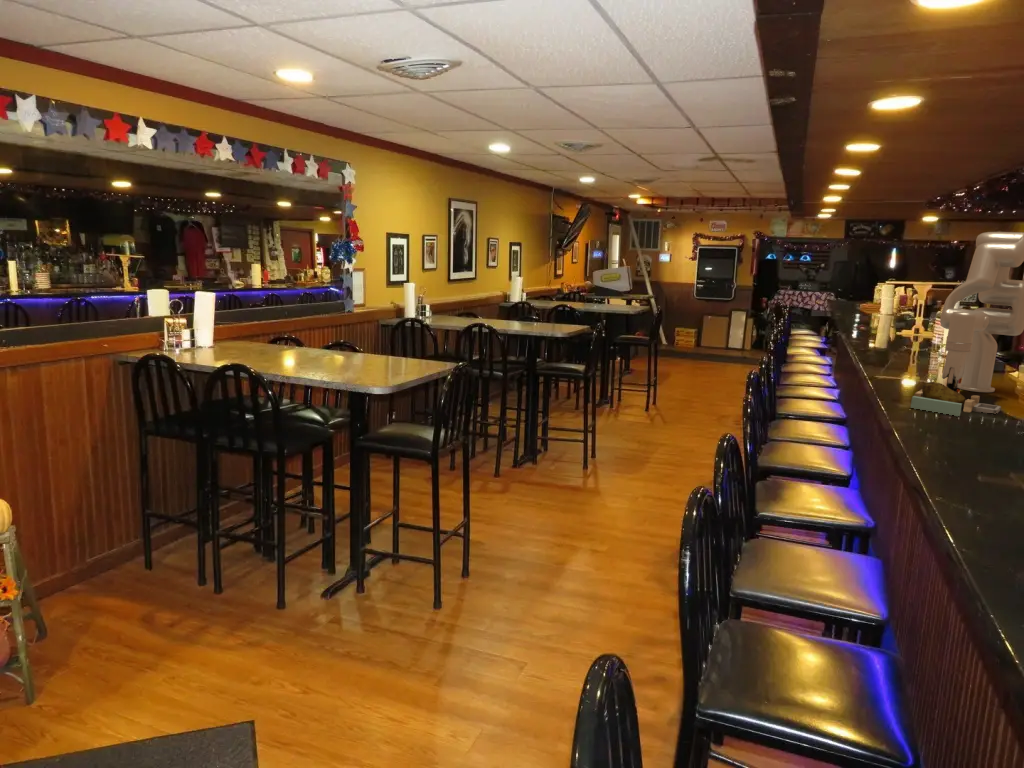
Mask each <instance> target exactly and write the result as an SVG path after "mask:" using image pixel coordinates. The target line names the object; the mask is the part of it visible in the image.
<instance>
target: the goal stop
mask: <svg viewBox="0 0 1024 768" xmlns="http://www.w3.org/2000/svg"><path fill="white" fill-rule="evenodd" d="M910 401H911V402H910V408H914V409H913V410H916V409H920V410H919V411H922V410H926V411H925V412H928V411H932V412H931V413H934V412H938V413H937V414H940V413H943V414H942V415H946V414H949V415H948V416H952V415H954V416H953V417H958V416H959V417H960V416H961V412H962V407H963V406H962V404H961V403H955V402H948V401H942V400H936V399H929V398H923V397H916V396H914V395H912V397H911V400H910Z"/></svg>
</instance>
